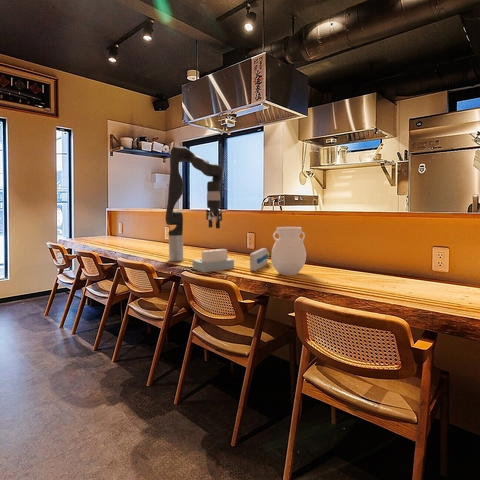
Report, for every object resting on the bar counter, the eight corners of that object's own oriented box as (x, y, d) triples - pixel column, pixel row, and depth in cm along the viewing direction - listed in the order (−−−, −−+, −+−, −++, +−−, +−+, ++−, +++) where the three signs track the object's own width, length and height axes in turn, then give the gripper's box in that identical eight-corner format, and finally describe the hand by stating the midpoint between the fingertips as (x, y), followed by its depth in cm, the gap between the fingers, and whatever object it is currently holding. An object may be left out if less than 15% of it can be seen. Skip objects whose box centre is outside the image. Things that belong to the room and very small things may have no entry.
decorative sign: (256, 271, 192) (256, 254, 191) (250, 271, 193) (249, 253, 192) (271, 262, 222) (271, 246, 221) (265, 261, 223) (265, 246, 222)
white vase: (308, 271, 191) (308, 226, 188) (303, 278, 173) (303, 228, 171) (275, 269, 197) (275, 225, 194) (267, 276, 180) (267, 228, 177)
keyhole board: (192, 268, 203) (192, 260, 202) (221, 264, 214) (221, 256, 213) (203, 272, 191) (203, 263, 191) (233, 268, 202) (233, 259, 202)
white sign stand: (202, 268, 199) (201, 250, 198) (223, 265, 206) (222, 248, 205) (206, 269, 195) (205, 251, 193) (227, 266, 202) (227, 249, 201)
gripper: (201, 199, 200) (202, 227, 202) (214, 199, 188) (214, 229, 190) (213, 199, 204) (213, 226, 206) (225, 199, 193) (226, 228, 194)
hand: (214, 227), depth 198 cm, fingers open, 8 cm apart
